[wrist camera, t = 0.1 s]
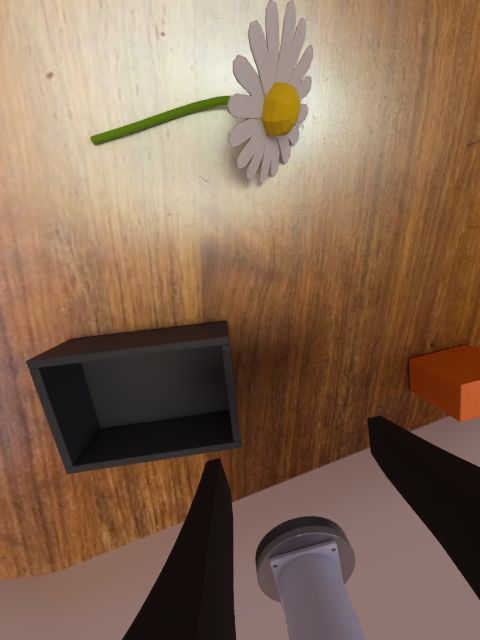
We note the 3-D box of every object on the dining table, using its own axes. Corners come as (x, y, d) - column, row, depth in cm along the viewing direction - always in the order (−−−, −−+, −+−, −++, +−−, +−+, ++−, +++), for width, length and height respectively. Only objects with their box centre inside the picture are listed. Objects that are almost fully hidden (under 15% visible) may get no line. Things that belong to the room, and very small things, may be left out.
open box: (237, 411, 22) (241, 447, 17) (98, 431, 21) (66, 474, 17) (226, 320, 20) (228, 336, 15) (70, 338, 19) (25, 361, 14)
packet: (465, 375, 23) (529, 404, 18) (409, 389, 23) (460, 422, 18) (465, 343, 22) (534, 365, 17) (408, 358, 22) (461, 385, 17)
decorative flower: (17, 95, 9) (365, -20, 9) (41, 56, 12) (300, -30, 12) (129, 241, 16) (328, 174, 16) (125, 192, 19) (293, 136, 19)
